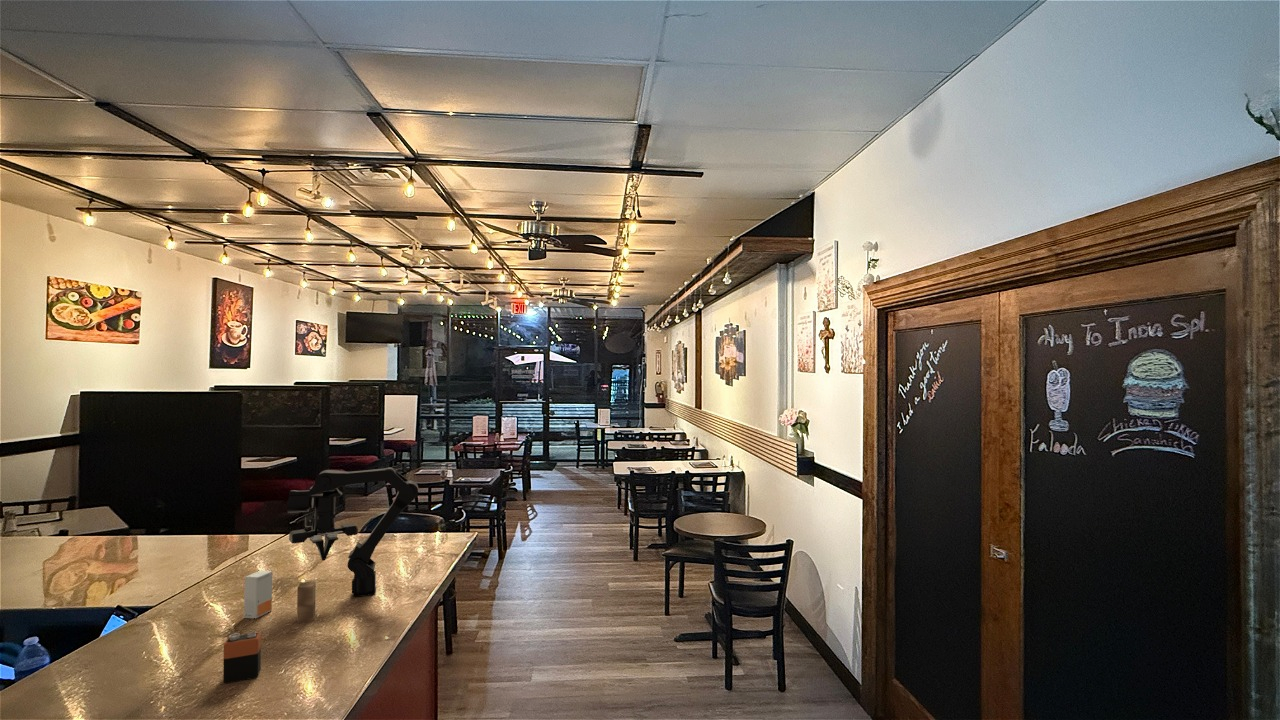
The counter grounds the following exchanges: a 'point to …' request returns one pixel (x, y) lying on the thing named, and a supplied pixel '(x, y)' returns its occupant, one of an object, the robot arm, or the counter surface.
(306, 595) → the walnut block
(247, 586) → the skincare box
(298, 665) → the counter surface
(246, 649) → the battery
